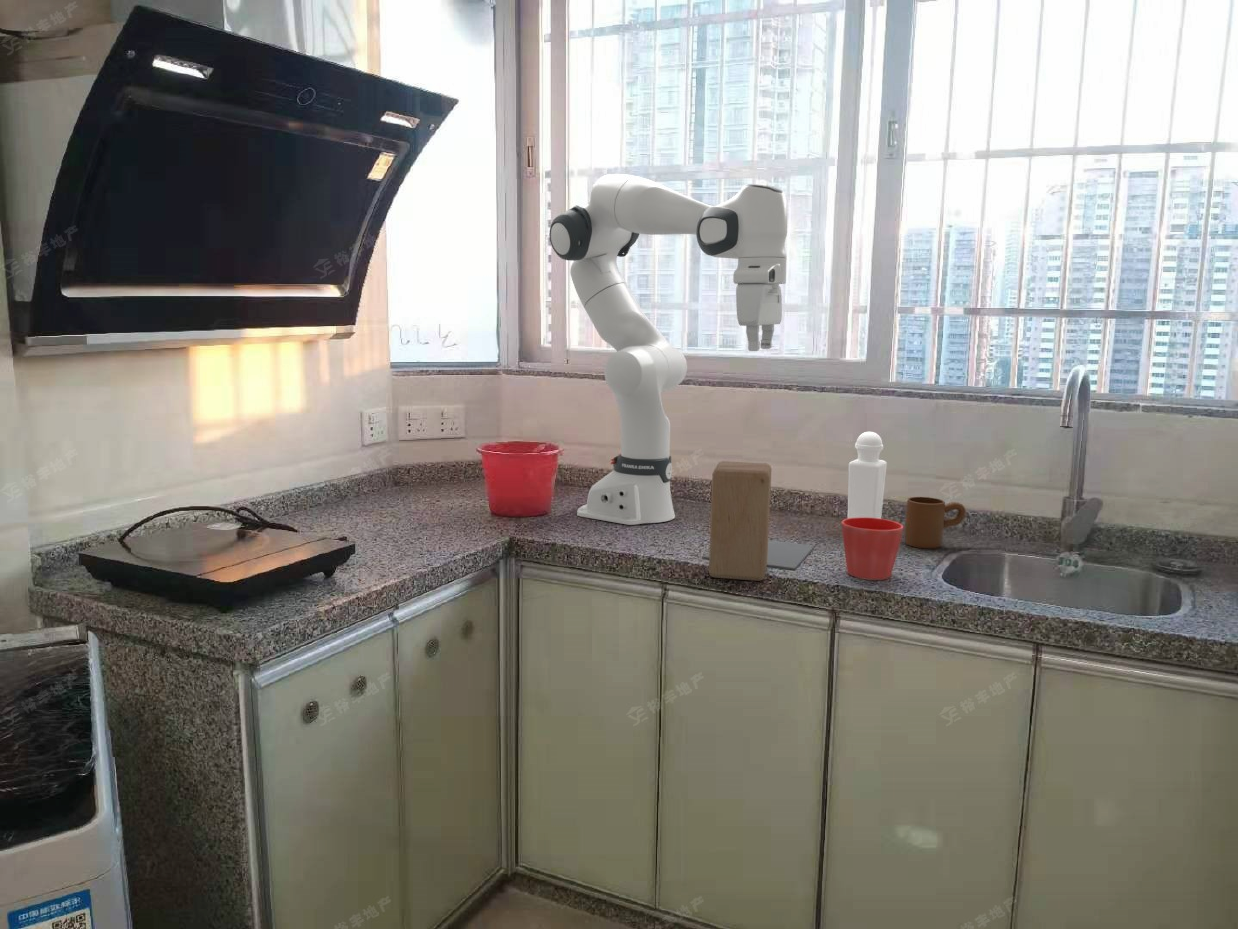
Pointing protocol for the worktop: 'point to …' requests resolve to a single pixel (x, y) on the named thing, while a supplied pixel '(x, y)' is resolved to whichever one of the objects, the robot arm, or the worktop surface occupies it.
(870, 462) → the white bottle
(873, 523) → the flower pot
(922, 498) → the mug
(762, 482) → the wooden block
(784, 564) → the rubber mat
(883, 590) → the worktop surface
